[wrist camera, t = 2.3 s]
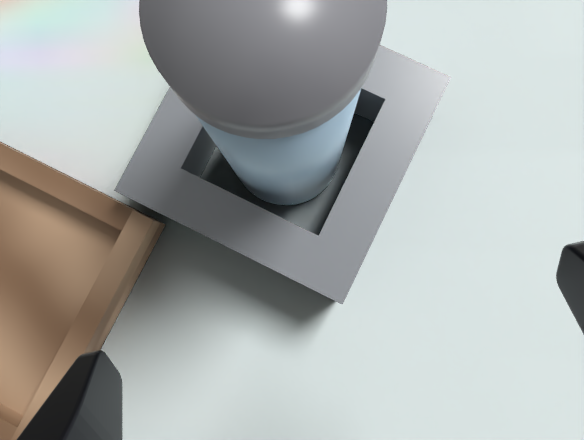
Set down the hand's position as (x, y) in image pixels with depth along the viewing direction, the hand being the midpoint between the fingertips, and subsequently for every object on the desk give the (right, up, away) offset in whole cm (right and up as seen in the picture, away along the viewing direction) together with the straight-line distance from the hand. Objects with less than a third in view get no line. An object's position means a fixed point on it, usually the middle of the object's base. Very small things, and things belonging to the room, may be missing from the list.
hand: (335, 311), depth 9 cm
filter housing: (-1, +5, +13) cm, 14 cm away
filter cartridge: (-1, +5, +13) cm, 14 cm away
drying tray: (-14, -1, +13) cm, 19 cm away
